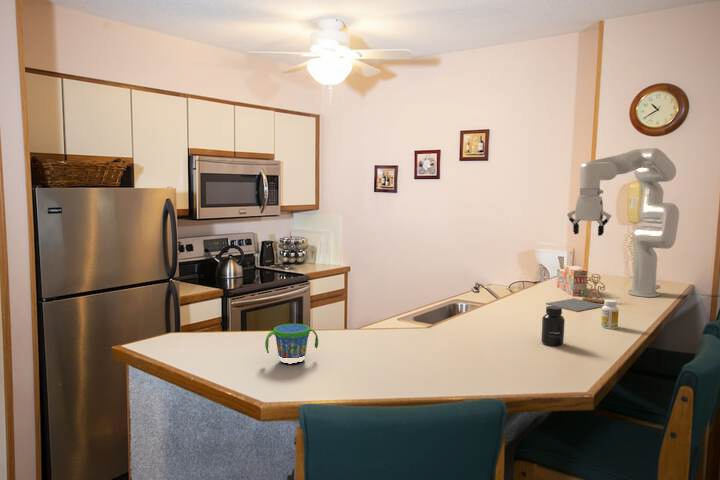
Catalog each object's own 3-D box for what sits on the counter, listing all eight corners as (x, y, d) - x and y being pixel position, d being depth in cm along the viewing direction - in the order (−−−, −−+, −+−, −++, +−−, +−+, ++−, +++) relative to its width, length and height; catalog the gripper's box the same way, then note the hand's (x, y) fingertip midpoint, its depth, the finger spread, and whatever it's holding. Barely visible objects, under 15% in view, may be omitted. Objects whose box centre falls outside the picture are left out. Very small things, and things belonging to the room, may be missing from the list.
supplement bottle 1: (553, 348, 169) (554, 310, 168) (536, 342, 176) (537, 306, 174) (568, 344, 173) (569, 308, 171) (551, 339, 179) (553, 304, 177)
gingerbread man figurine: (606, 302, 231) (608, 274, 231) (603, 303, 228) (605, 275, 228) (584, 299, 237) (587, 272, 237) (582, 300, 234) (584, 272, 234)
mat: (573, 299, 238) (574, 298, 238) (605, 306, 224) (606, 305, 224) (545, 304, 229) (545, 303, 229) (577, 311, 215) (577, 310, 215)
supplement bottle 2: (617, 326, 194) (618, 299, 193) (617, 329, 189) (619, 302, 188) (601, 324, 196) (602, 298, 195) (601, 328, 191) (602, 301, 190)
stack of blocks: (556, 287, 266) (557, 262, 264) (569, 287, 265) (570, 262, 264) (572, 296, 244) (573, 269, 243) (586, 296, 244) (587, 269, 243)
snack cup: (315, 353, 166) (315, 321, 165) (321, 365, 156) (320, 330, 154) (264, 357, 162) (263, 325, 161) (266, 369, 152) (265, 334, 151)
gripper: (614, 192, 216) (613, 235, 218) (572, 192, 227) (570, 232, 229) (608, 193, 210) (606, 236, 212) (564, 193, 222) (563, 234, 224)
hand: (588, 234), depth 221 cm, fingers open, 9 cm apart
